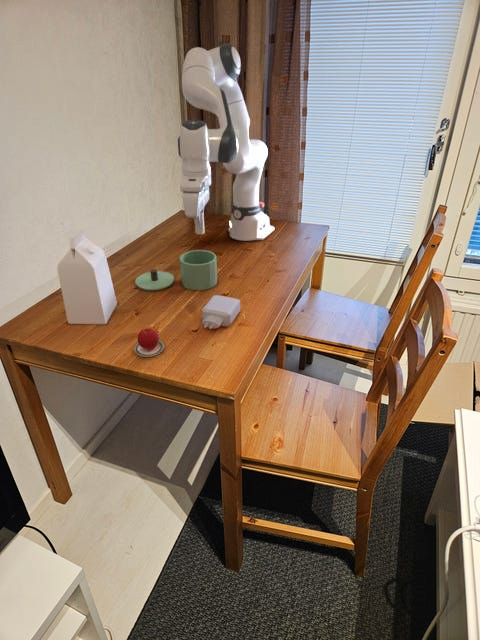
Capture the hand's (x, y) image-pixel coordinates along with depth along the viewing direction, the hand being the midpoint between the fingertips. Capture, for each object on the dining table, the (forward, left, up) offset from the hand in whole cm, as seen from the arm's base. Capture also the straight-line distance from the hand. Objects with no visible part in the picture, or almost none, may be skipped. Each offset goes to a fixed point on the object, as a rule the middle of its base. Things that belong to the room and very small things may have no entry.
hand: (199, 222), depth 135 cm
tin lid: (+11, -13, -21) cm, 27 cm away
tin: (+1, -1, -22) cm, 22 cm away
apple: (+39, +15, -22) cm, 47 cm away
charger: (+17, +21, -22) cm, 35 cm away
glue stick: (0, 0, -4) cm, 4 cm away
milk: (+37, -13, -22) cm, 45 cm away
